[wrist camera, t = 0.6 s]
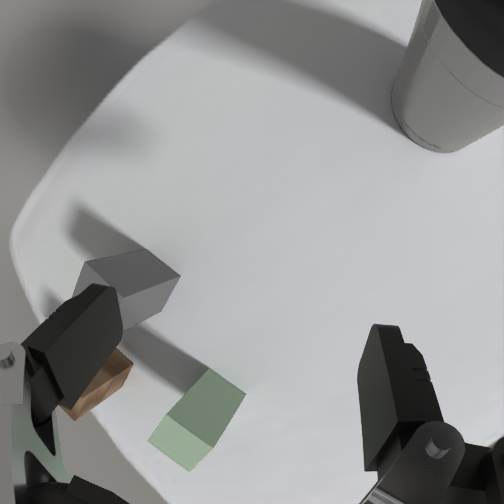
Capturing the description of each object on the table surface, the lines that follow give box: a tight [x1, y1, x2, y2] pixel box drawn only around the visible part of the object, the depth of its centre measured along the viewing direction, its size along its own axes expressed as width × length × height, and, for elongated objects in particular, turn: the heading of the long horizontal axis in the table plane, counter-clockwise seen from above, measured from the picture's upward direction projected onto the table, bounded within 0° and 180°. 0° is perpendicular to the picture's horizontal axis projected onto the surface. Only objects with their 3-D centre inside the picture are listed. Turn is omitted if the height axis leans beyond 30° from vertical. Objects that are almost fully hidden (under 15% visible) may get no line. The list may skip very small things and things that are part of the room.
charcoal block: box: [72, 249, 181, 331], centre depth 30 cm, size 5×5×10 cm
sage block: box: [148, 368, 246, 472], centre depth 30 cm, size 5×5×10 cm
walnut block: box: [59, 348, 134, 421], centre depth 33 cm, size 5×5×10 cm
